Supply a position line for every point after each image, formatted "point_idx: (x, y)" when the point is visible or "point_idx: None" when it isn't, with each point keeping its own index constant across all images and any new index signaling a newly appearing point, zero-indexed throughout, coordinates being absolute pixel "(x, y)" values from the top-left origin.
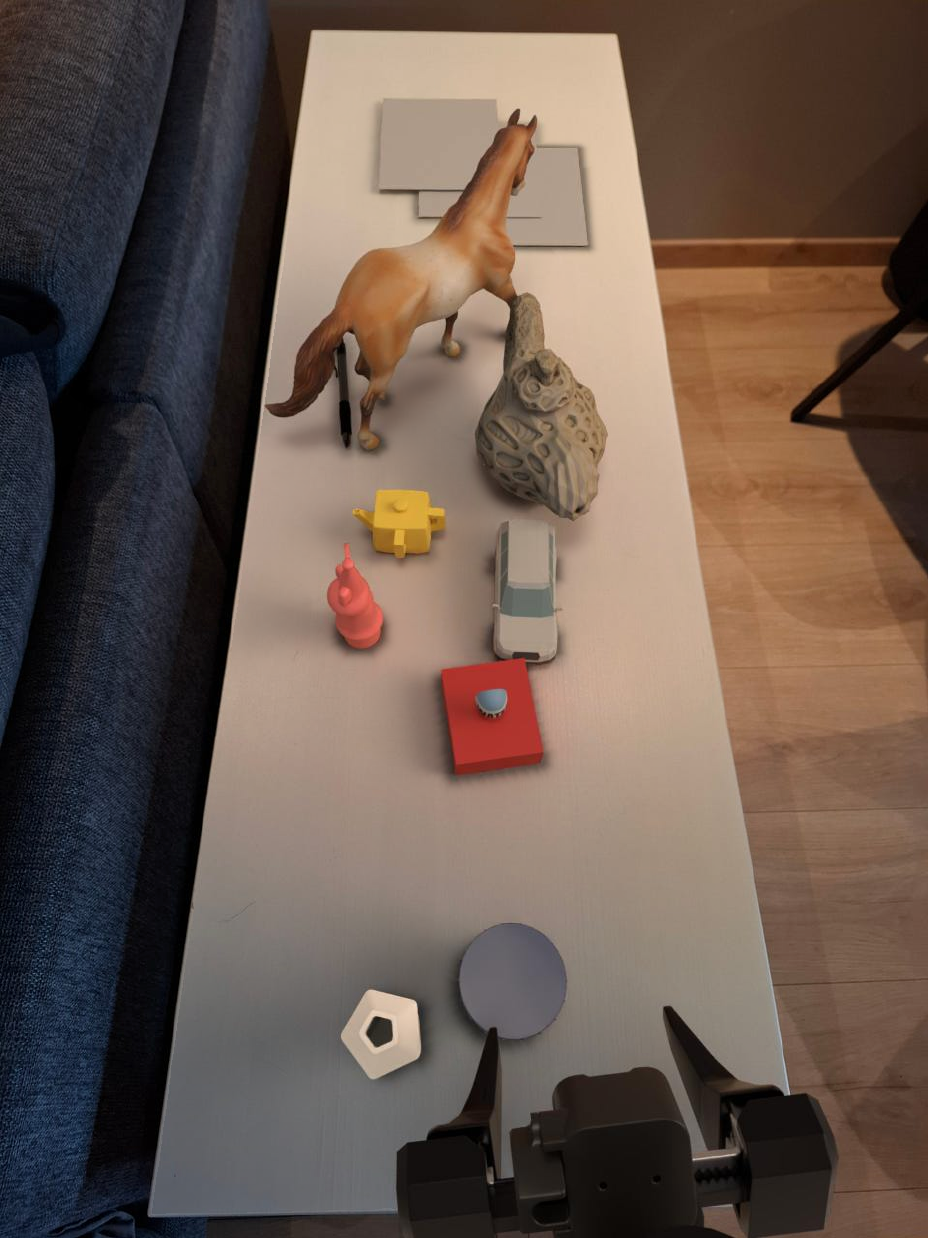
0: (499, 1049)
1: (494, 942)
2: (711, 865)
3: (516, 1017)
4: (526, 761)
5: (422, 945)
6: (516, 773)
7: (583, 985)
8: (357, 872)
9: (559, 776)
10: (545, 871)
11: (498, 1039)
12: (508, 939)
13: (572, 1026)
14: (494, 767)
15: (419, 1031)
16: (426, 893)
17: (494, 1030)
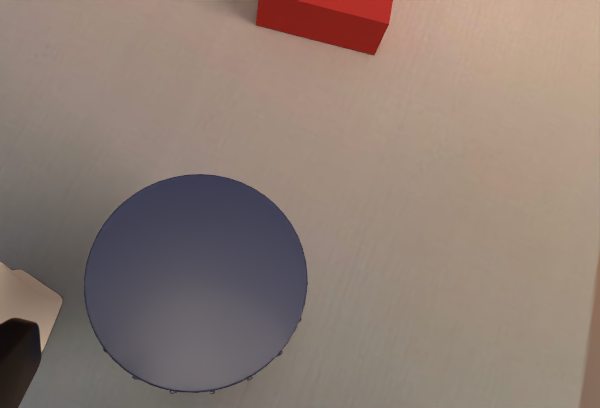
0: (1, 390)
1: (193, 200)
2: (556, 265)
3: (175, 345)
4: (357, 39)
5: (113, 210)
6: (337, 54)
7: (320, 351)
8: (66, 85)
9: (392, 80)
10: (327, 185)
11: (28, 360)
12: (222, 206)
13: (282, 401)
14: (311, 31)
15: (52, 322)
16: (150, 148)
17: (19, 328)
